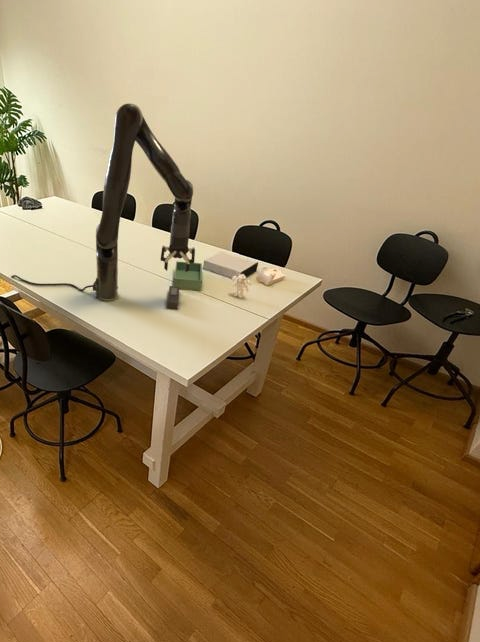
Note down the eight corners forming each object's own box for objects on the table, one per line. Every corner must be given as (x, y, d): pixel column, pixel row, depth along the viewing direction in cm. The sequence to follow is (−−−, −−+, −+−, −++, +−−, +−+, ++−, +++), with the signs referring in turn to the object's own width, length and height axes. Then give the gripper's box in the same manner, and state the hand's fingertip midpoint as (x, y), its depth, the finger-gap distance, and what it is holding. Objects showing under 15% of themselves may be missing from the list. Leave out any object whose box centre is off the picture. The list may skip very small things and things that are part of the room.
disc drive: (240, 281, 185) (242, 272, 182) (202, 268, 197) (203, 259, 195) (256, 271, 196) (258, 262, 193) (219, 259, 208) (221, 251, 205)
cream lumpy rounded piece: (265, 286, 183) (272, 274, 178) (255, 278, 187) (262, 266, 181) (282, 281, 189) (289, 269, 184) (272, 272, 193) (279, 261, 187)
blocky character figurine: (227, 294, 173) (232, 271, 166) (231, 291, 176) (235, 268, 169) (245, 300, 169) (251, 276, 162) (249, 297, 171) (254, 273, 164)
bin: (173, 288, 178) (174, 278, 175) (175, 270, 195) (176, 261, 192) (200, 290, 176) (202, 280, 173) (200, 272, 193) (201, 263, 190)
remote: (166, 308, 161) (167, 301, 159) (169, 291, 174) (169, 285, 172) (177, 309, 161) (178, 302, 159) (178, 292, 174) (179, 286, 172)
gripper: (197, 231, 152) (193, 268, 161) (163, 229, 154) (160, 266, 163) (197, 237, 146) (192, 275, 155) (161, 235, 148) (159, 273, 157)
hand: (176, 270), depth 159 cm, fingers open, 8 cm apart
